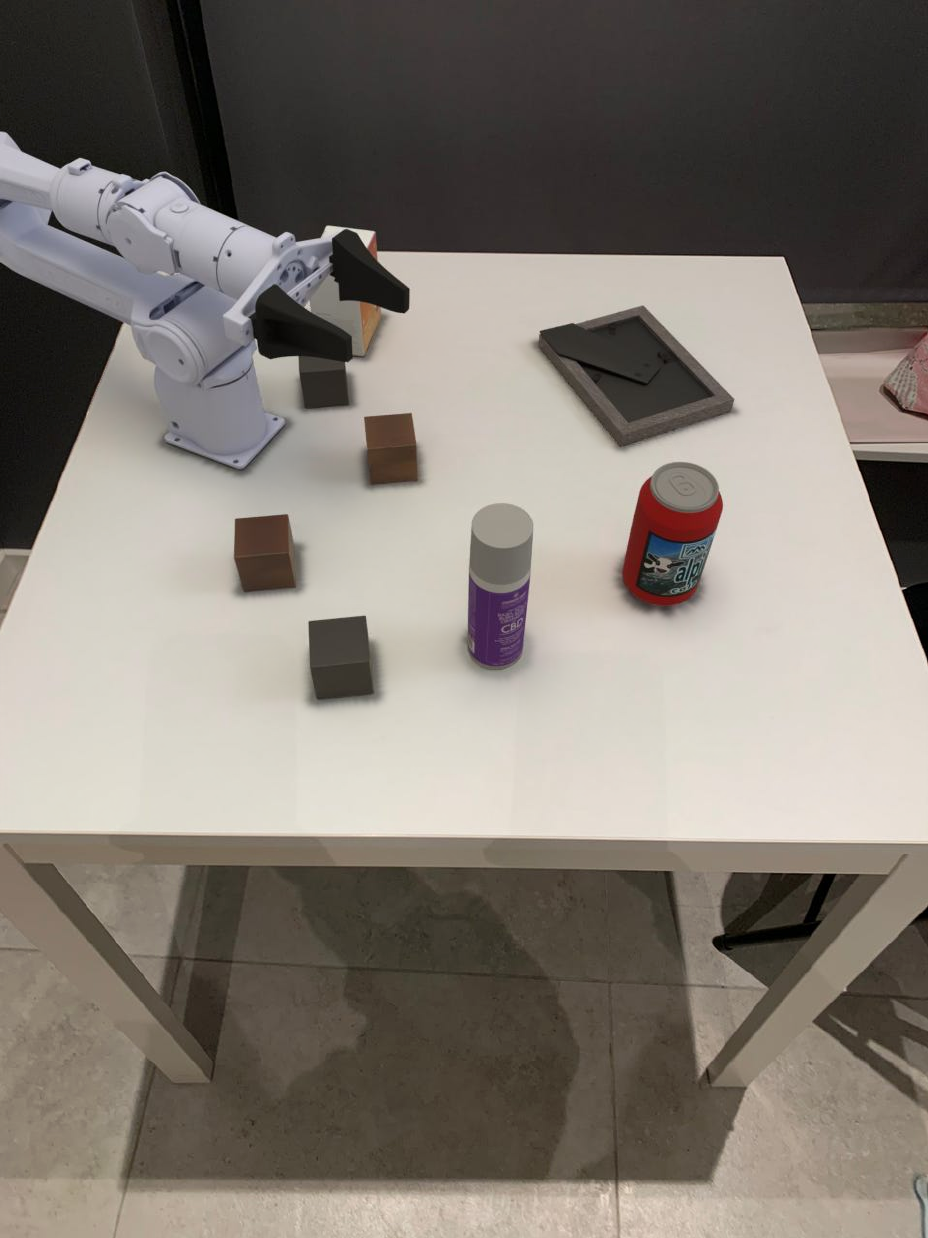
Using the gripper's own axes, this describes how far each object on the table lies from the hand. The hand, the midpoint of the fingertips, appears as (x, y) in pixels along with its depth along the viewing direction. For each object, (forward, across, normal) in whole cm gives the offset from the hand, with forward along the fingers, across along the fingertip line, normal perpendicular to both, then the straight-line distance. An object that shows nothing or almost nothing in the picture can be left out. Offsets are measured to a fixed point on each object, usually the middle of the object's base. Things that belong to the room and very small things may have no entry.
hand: (379, 324), depth 72 cm
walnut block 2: (-2, +5, +21) cm, 21 cm away
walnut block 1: (-4, -12, +21) cm, 24 cm away
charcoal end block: (-15, +11, +21) cm, 28 cm away
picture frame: (+12, +30, +20) cm, 38 cm away
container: (+17, -8, +20) cm, 28 cm away
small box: (-19, +20, +21) cm, 35 cm away
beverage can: (+26, +6, +19) cm, 33 cm away
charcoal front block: (+8, -17, +20) cm, 28 cm away
